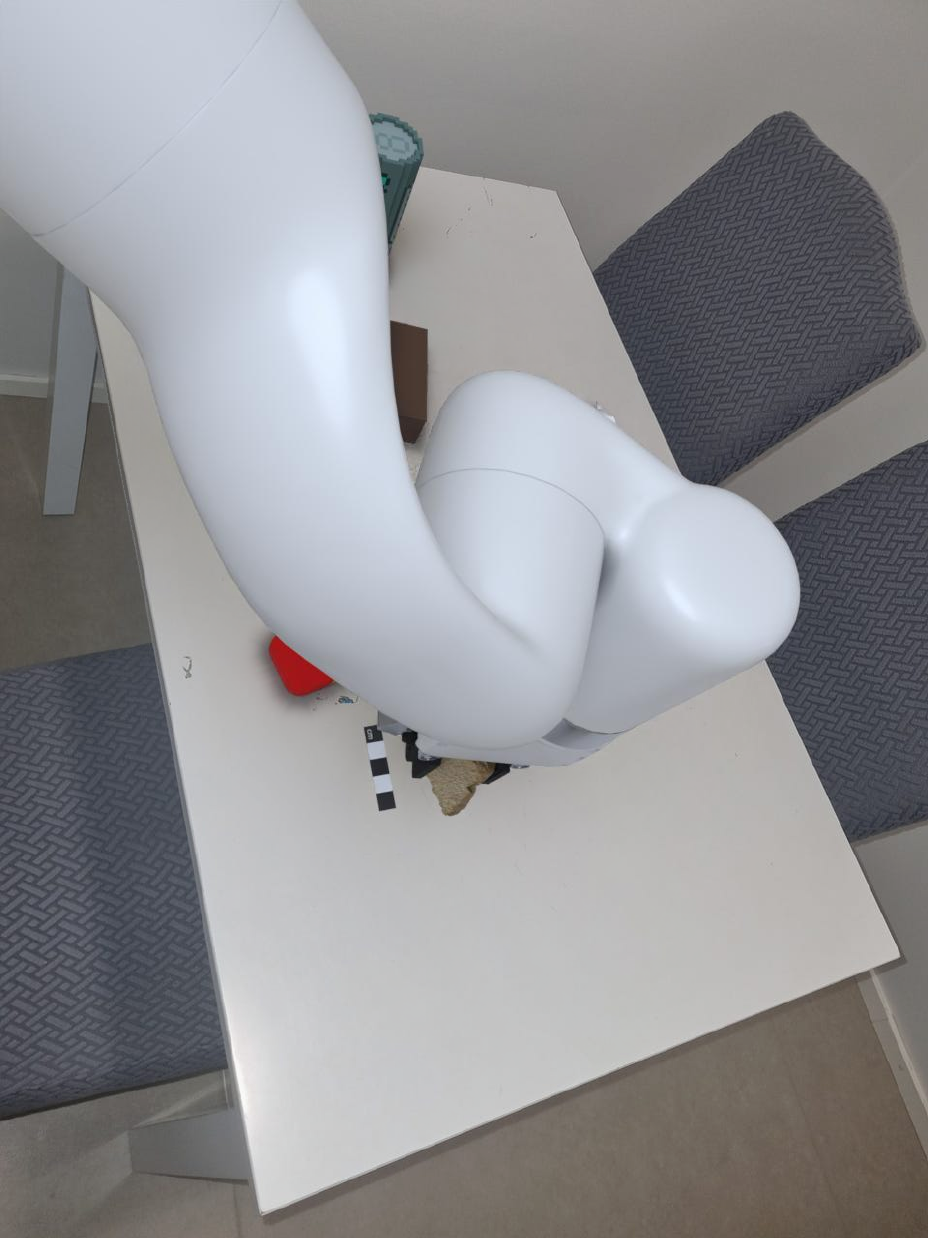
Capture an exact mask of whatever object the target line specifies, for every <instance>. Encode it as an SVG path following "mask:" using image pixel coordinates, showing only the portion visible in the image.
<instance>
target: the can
mask: <svg viewBox="0 0 928 1238" xmlns="http://www.w3.org/2000/svg"><path fill="white" fill-rule="evenodd" d="M368 115H369V118H370V121H371V124H372V127H373V131H374V135H375V140H376V147H377V152H378V158H379V164H380V170H381V177H382V186H383V194H384V203H385V213H386V224H387V239H388V258H389V257H390V254H391V251H392V248H393V245H394V242H395V239H396V236H397V234H398V231H399V228H400V226H401V223H402V219H403V216H404V214H405V210H406V207H407V205H408V202H409V199H410V196H411V193H412V190H413V187H414V184H415V182H416V178H417V176H418V173H419V170H420V167H421V165H422V162H423V158H424V156H425V150H424V143H423V137H419V134H418V131H417V130H414V127H413V126H411V125H409V122H406V121H402V120H400V117H398V116H394V115H390V114H386V113H382V112H377V114H373V113H368Z"/></svg>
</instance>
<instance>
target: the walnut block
mask: <svg viewBox="0 0 928 1238" xmlns="http://www.w3.org/2000/svg"><path fill="white" fill-rule="evenodd" d="M390 338H391V357H392V369H393V380H394V392H395V398H396V405H397V412H398V418H399V425H400V431H401V435H402V440H403V443H404V442H405V443H409V444H416V443H417V441H418V439H419V437H420V435H421V433H422V431H423V429H424V427H425V425H426V423H427V421H428V366H429V365H428V363H429V362H428V355H429V351H428V349H429V347H428V346H429V330H428V328H426V327H425V328H424V327H421V326H416V325H412V324H408V323H405V322H404V323H403V322H401V321H395V320H391V319H390Z"/></svg>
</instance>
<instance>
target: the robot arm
mask: <svg viewBox="0 0 928 1238" xmlns="http://www.w3.org/2000/svg"><path fill="white" fill-rule="evenodd" d="M318 31H319V30H318V29H317V28H316V27H315V25H314V24H313V22H312V20H311V19H310V18H309V16H308V15H307V13H306V12H305V10H304V9H303V7H302V6H301V4H300V2H299V1H298V0H0V208H1V209H2V210H3V211H4V212H5V213H6V214H8V215H9V217H11V218H12V220H14V221H15V222H16V223H17V224H18V225H20V226H21V227H22V229H24V231H25V232H26V233H27V235H28V236H30V237H31V239H33V240H34V241H35V242H36V243H38V245H40V246H41V247H42V248H43V249H44V250H45V251H47V253H49V255H51V256H52V257H53V258H54V259H56V260H57V261H58V262H59V263H60V265H62V266H63V267H64V268H65V269H66V270H68V272H70V273H71V274H72V275H73V276H74V277H75V278H76V279H78V280H79V281H80V282H81V283H82V284H83V285H84V286H85V287H86V288H88V289H89V290H90V291H91V292H92V293H93V294H94V295H95V296H96V297H97V298H98V299H99V301H101V302H102V303H104V305H105V306H106V307H107V308H108V309H109V310H110V312H112V313H113V314H114V315H115V316H116V318H118V320H119V322H121V324H122V325H123V327H124V328H125V330H127V332H128V333H129V335H130V337H131V338H132V340H133V342H134V343H135V346H136V347H137V350H138V352H139V354H140V357H141V359H142V362H143V365H144V368H145V371H146V374H147V378H148V381H149V384H150V388H151V391H152V395H153V398H154V402H155V406H156V407H157V408H156V409H157V412H158V415H159V418H160V421H161V422H160V423H161V425H162V428H163V431H164V434H165V437H166V440H167V443H168V445H169V448H170V450H171V454H172V456H173V459H174V462H175V464H176V466H177V469H178V471H179V474H180V476H181V479H182V481H183V484H184V486H185V488H186V490H187V492H188V495H189V498H190V499H191V502H192V503H193V506H194V507H195V509H196V512H197V514H198V516H199V518H200V521H201V522H202V525H203V527H204V529H205V531H206V533H207V535H208V537H209V539H210V541H211V543H212V545H213V547H214V548H215V550H216V552H217V554H218V557H219V558H220V560H221V562H222V564H223V566H224V568H225V570H226V573H228V575H229V577H230V579H231V580H232V582H233V584H235V586H236V588H237V590H238V591H239V592H240V594H241V596H242V597H243V598H244V600H245V602H246V603H247V605H248V606H249V607H250V608H251V610H252V611H253V612H254V613H255V614H256V616H257V617H258V618H259V619H260V620H261V622H262V623H263V624H264V625H265V626H266V627H267V628H268V630H270V631H271V632H272V633H273V634H274V635H275V636H277V637H279V638H280V639H281V640H282V641H283V642H284V643H285V644H286V645H287V646H289V647H290V648H291V649H293V650H294V651H295V652H296V653H298V654H299V655H300V656H302V657H303V658H304V659H306V660H307V661H308V662H310V663H311V664H313V665H314V666H315V667H317V668H318V669H320V670H321V671H322V672H324V673H325V674H326V675H328V676H329V677H331V678H332V679H333V680H335V681H336V683H337V684H339V685H340V686H341V687H343V688H344V689H346V690H347V691H349V692H350V693H352V695H355V696H356V697H358V698H359V699H360V700H362V701H364V702H365V703H366V704H368V705H369V706H371V707H372V708H374V709H375V710H377V717H376V725H377V729H378V730H380V731H382V733H386V734H389V735H391V736H395V737H398V736H401V742H403V743H404V744H405V746H404V747H405V749H404V750H405V753H404V756H405V761H406V762H407V763H408V762H409V763H411V778H412V779H415V780H417V779H418V780H422V778H425V777H427V776H426V775H427V774H429V773H430V772H432V771H433V770H434V769H436V768H437V767H439V766H440V765H441V757H446V758H455V759H464V760H475V761H485V762H496V763H495V770H494V772H493V773H492V775H490V776H489V777H488V779H487V780H486V781H485V782H483V783H480V785H490V784H492V783H494V782H496V781H498V780H499V779H501V778H503V777H504V776H507V775H508V774H510V773H511V769H515V770H524V769H529V768H530V767H531V766H532V767H544V768H545V767H548V768H549V767H550V768H551V767H552V768H558V767H560V768H561V767H566V766H567V767H568V766H571V765H573V764H576V763H578V762H580V761H582V760H585V759H586V758H588V757H590V756H592V755H594V754H596V753H597V752H599V751H601V750H603V749H604V748H605V747H607V746H609V745H610V744H612V742H614V741H615V740H617V739H618V738H619V737H620V736H622V735H623V734H625V733H627V732H630V731H631V730H633V729H636V728H638V727H639V726H641V725H643V724H644V723H647V722H649V721H650V720H653V719H655V718H656V717H658V716H660V715H662V714H664V713H667V712H668V711H670V710H672V709H674V708H676V707H678V706H680V705H681V704H683V703H685V702H687V701H689V700H691V699H693V698H695V697H697V696H699V695H701V694H703V693H705V692H707V691H709V690H711V689H713V688H715V687H716V686H719V685H720V684H722V683H725V682H726V681H728V680H730V679H732V678H734V677H736V676H739V675H740V674H742V673H744V672H745V671H748V670H750V669H751V668H753V667H755V666H756V665H758V664H760V663H761V662H763V661H765V660H766V659H768V658H769V657H770V656H771V655H773V654H774V653H775V652H776V651H777V650H778V649H779V648H780V647H781V645H783V643H784V642H785V641H786V639H787V638H788V637H789V635H790V633H791V631H792V629H793V628H794V625H795V623H796V621H797V618H798V613H799V608H800V602H801V582H800V575H799V571H798V567H797V564H796V561H795V558H794V555H793V553H792V551H791V548H790V546H789V545H788V543H787V541H786V540H785V538H784V536H783V535H782V533H781V532H780V531H779V529H778V528H777V526H775V524H774V523H773V521H771V519H770V518H769V517H768V516H767V515H766V514H765V513H763V511H762V510H761V509H760V508H758V507H757V506H756V505H754V504H753V503H752V502H750V501H749V500H747V499H746V498H744V497H742V496H740V495H739V494H737V493H735V492H733V491H730V490H728V489H725V488H723V487H718V486H714V485H710V484H703V483H698V482H697V483H696V482H693V481H691V480H689V479H688V478H686V477H685V476H684V475H682V474H680V473H679V472H678V471H677V470H675V469H674V468H672V467H671V466H670V465H669V464H667V463H666V462H664V461H663V460H662V459H660V458H659V457H658V456H657V455H656V454H654V453H652V451H650V450H649V449H648V448H646V447H645V446H644V445H643V444H641V442H639V441H637V440H636V439H635V438H634V437H632V436H631V435H630V434H629V433H628V432H627V431H625V430H623V429H622V427H620V426H619V425H617V423H616V424H615V423H614V422H612V421H611V420H610V419H609V418H607V417H606V416H605V415H604V414H602V413H601V412H600V411H598V410H597V409H596V406H593V405H592V404H590V403H589V402H587V401H586V400H584V398H581V397H580V396H579V395H577V394H576V393H574V392H572V391H571V390H569V389H568V388H565V387H563V386H562V385H560V384H558V383H556V382H554V381H552V380H549V379H547V378H544V377H542V376H539V375H536V374H533V373H529V372H524V371H520V370H509V369H499V370H490V371H485V372H482V373H479V374H475V375H473V376H470V377H469V378H467V379H466V380H464V381H463V382H461V383H460V384H459V385H457V387H455V388H454V389H453V390H452V391H451V392H450V393H449V394H448V396H447V398H446V399H445V401H443V404H442V405H441V407H440V408H439V411H438V413H437V415H436V418H435V420H434V422H433V424H432V427H431V429H430V430H431V431H430V433H429V436H428V440H427V444H426V447H425V449H424V453H423V456H422V459H421V463H420V466H419V469H418V472H417V476H416V478H415V481H414V479H413V477H412V473H411V470H410V466H409V465H410V464H409V461H408V457H407V453H406V448H405V444H404V441H403V440H402V435H401V431H400V425H399V418H398V412H397V405H396V398H395V392H394V380H393V369H392V357H391V338H390V320H391V308H390V306H391V305H390V304H391V303H390V274H389V272H390V270H389V269H390V268H389V267H390V266H389V257H388V239H387V224H386V213H385V203H384V194H383V186H382V177H381V170H380V164H379V158H378V152H377V147H376V140H375V135H374V131H373V127H372V124H371V121H370V118H369V113H368V111H367V108H366V106H365V103H364V101H363V99H362V98H363V97H362V96H361V93H360V91H359V89H358V88H357V87H356V85H355V83H354V82H353V81H352V79H351V78H350V76H349V75H348V74H347V72H346V71H345V69H344V68H343V66H342V65H341V63H340V62H339V60H338V58H337V57H336V56H335V55H334V53H333V52H332V50H331V49H330V47H329V46H328V45H327V43H326V42H325V40H324V39H323V38H322V36H321V34H320V33H319V32H318Z"/></svg>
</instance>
